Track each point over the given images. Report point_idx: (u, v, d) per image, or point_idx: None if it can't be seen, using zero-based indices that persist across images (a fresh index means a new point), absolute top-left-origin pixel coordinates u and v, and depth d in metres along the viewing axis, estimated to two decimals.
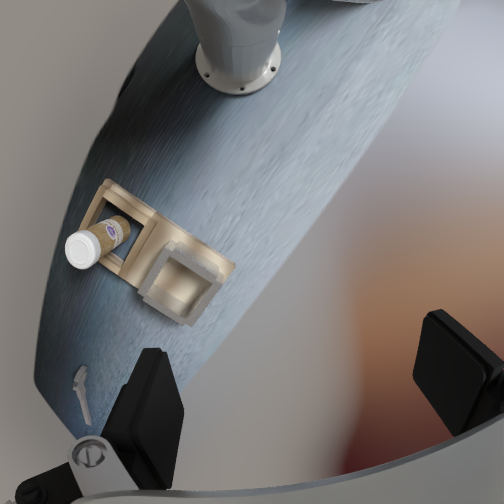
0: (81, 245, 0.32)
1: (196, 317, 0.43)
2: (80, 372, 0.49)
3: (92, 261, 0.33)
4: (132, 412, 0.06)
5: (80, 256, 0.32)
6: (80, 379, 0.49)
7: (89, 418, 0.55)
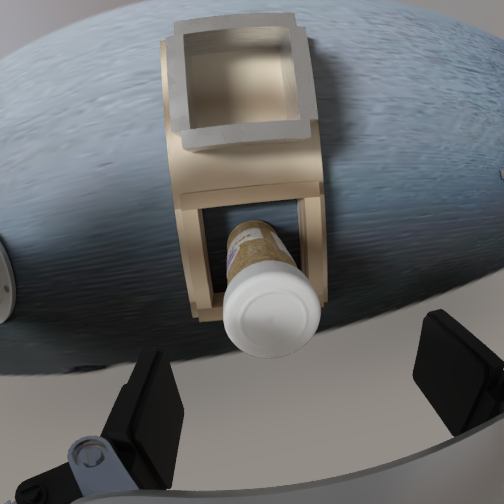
0: (252, 323, 0.13)
1: (268, 16, 0.16)
2: None
3: (269, 275, 0.13)
4: (132, 412, 0.06)
5: (280, 310, 0.13)
6: None
7: None
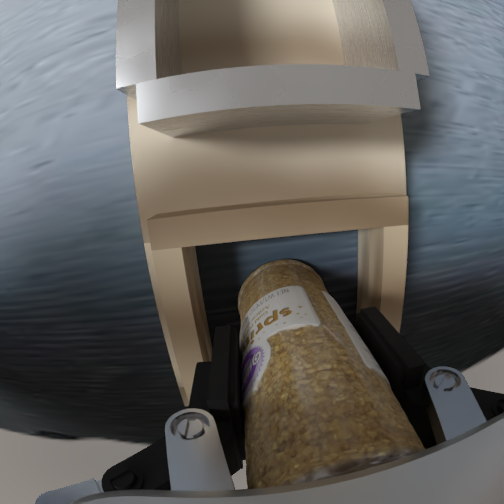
0: None
1: None
2: None
3: None
4: (228, 381, 0.07)
5: None
6: None
7: None
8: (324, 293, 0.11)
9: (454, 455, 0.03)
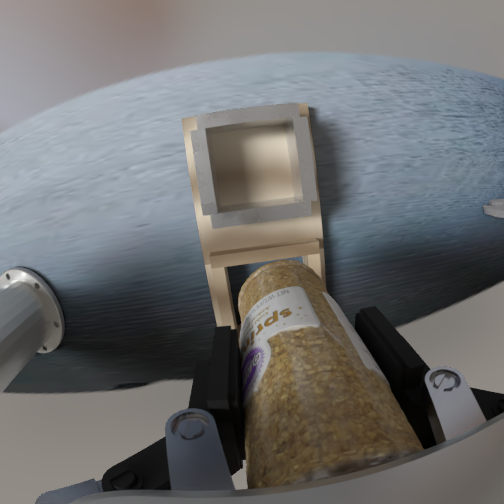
0: None
1: (276, 107, 0.22)
2: (494, 212, 0.29)
3: None
4: (228, 381, 0.07)
5: None
6: (503, 208, 0.28)
7: None
8: (324, 294, 0.11)
9: (454, 455, 0.03)
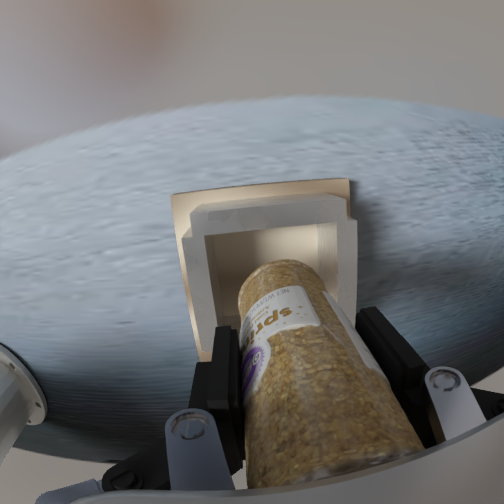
0: None
1: (313, 206, 0.16)
2: None
3: None
4: (228, 381, 0.07)
5: None
6: None
7: None
8: (324, 293, 0.11)
9: (454, 455, 0.03)
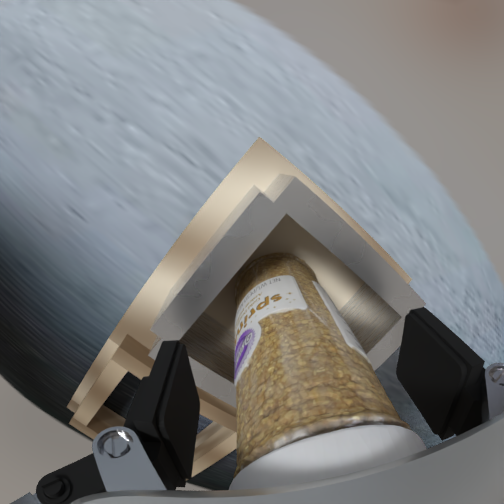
0: None
1: (401, 286, 0.12)
2: None
3: None
4: (157, 401, 0.07)
5: None
6: None
7: None
8: (314, 283, 0.12)
9: (454, 455, 0.03)
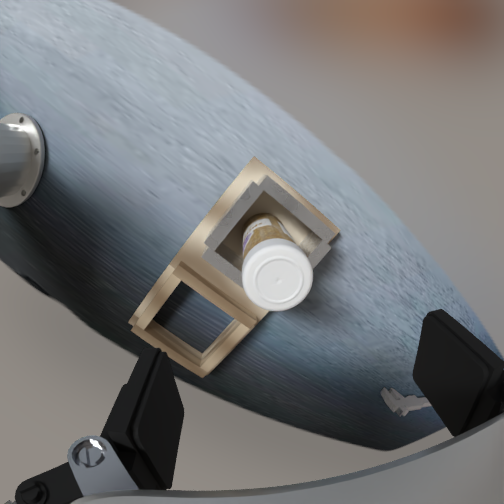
0: (263, 282, 0.19)
1: (319, 223, 0.27)
2: (387, 399, 0.38)
3: (275, 247, 0.18)
4: (133, 412, 0.06)
5: (283, 272, 0.19)
6: (395, 402, 0.37)
7: None
8: (278, 222, 0.28)
9: (454, 455, 0.03)
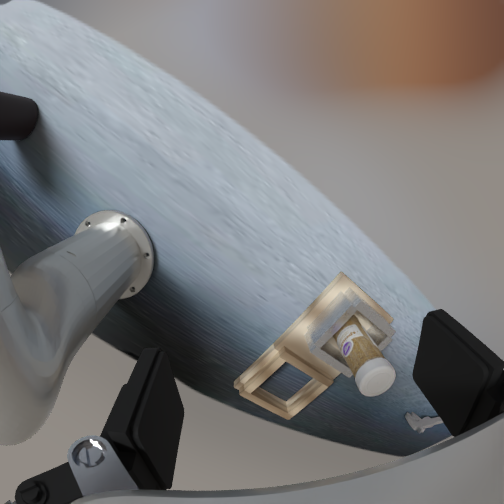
0: (371, 384, 0.29)
1: (387, 326, 0.38)
2: (410, 421, 0.48)
3: (380, 367, 0.29)
4: (132, 412, 0.06)
5: (381, 379, 0.29)
6: (416, 423, 0.47)
7: None
8: (361, 326, 0.38)
9: (454, 455, 0.03)
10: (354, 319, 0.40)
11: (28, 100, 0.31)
